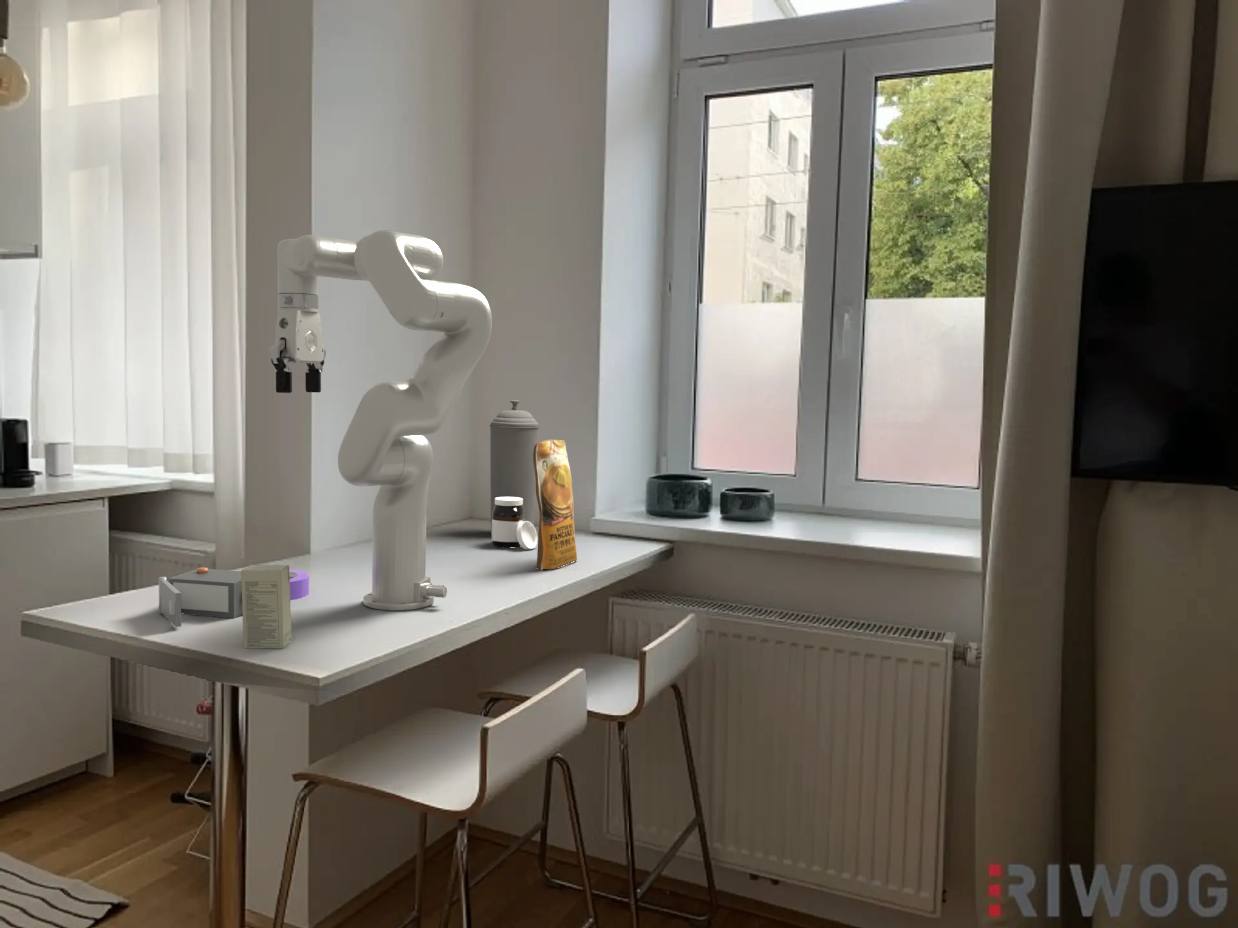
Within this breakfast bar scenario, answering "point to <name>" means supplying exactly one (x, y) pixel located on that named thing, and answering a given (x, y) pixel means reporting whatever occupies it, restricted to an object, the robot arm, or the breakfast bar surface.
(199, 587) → the toy microwave oven
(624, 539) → the breakfast bar surface
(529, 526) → the spread jar
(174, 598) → the side door
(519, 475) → the canister
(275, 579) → the skincare box
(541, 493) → the pancake mix bag
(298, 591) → the masking tape
